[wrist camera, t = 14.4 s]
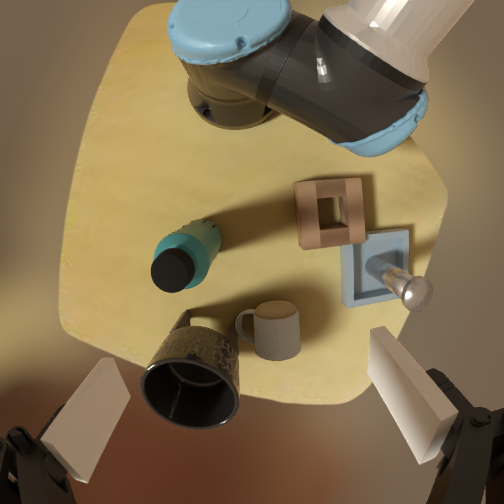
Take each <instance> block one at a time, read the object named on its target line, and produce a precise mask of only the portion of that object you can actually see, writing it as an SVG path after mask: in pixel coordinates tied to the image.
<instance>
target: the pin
mask: <svg viewBox="0 0 504 504" xmlns="http://www.w3.org/2000/svg"><path fill="white" fill-rule="evenodd" d="M365 270H366V272H367V273H368V274H369V275H370V276H372V277H373V278H375V279H376V280H377V281H379V282H380V283H381V284H383V285H384V286H385V287H387V288H388V289H389V290H390V291H392V292H393V293H394V294H396V295H397V296H398V297H400V298H401V299H402V303H403V305H404V306H405V307H406V308H407V309H408V310H409V311H411V312H419V311H421V310H422V309H424V308H425V307H426V306H427V305H428V303H429V302H430V300H431V298H432V294H433V287H432V284H431V282H430V281H429V280H428V279H426V278H424V277H422V276H416V277H414V276H412V275H410V274H409V273H407V272H405V271H403V270H402V269H400V268H398V267H396V266H395V265H393V264H391V263H389V262H387V261H386V260H384V259H382V258H380V257H378V256H371V257H370V258H368V260H367V261H366V263H365Z"/></svg>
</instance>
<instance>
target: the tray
mask: <svg viewBox="0 0 504 504" xmlns="http://www.w3.org/2000/svg"><path fill="white" fill-rule="evenodd" d="M365 241H366V243H358V244H350V245H342V246H340V251H341V278H342V302H343V304H344V305H345V306H346V307H347V308H352V307H357V306H363V305H368V304H373V303H378V302H383V301H388V300H393V299H397V298H400V297H398V296H397V295H396V294H394V293H393V292H392V291H390V290H389V289H388V288H387V287H385V286H384V285H383V284H381V283H380V282H379V281H377V280H376V279H375V278H373V277H372V276H370V275H369V274H368V273H367V272H366V270H365V263H366V261H367V260H368V258H370V257H371V256H378V257H380V258H382V259H384V260H386V261H387V262H389V263H391V264H393V265H395V266H396V267H398V268H400V269H402V270H403V271H405V272H407V273H408V270H409V230H407V229H403V228H392V229H383V230H374V231H365Z"/></svg>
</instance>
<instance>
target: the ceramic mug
mask: <svg viewBox="0 0 504 504" xmlns="http://www.w3.org/2000/svg"><path fill="white" fill-rule="evenodd" d="M244 314H254V338H253V337H250V336H248V335H247V334H246V333H245V332H244V331H243V329H242V319H243V317H242V315H244ZM235 327H236V330H237V333H238V335H239V336H240V337H241V338H242V339H244V340H245V341H247V342H249V343H252V344H255V352H256V354H257V355H258V356H259V357H261V358H263V359H266V360H271V361H282V360H287V359H290V358H293V357H295V356H296V355H297V354H298V353H299V352H300V350H301V340H300V321H299V313H298V309H297V306H296V305H295V304H293V303H292V302H289V301H284V300H275V301H268V302H265V303H262V304H260V305H259V306H258V307H257V308H256V309H248V310H245V311H243V312H241V313H240V314H239V315H238V317H237V318H236V322H235Z"/></svg>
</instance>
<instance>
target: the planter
mask: <svg viewBox="0 0 504 504" xmlns="http://www.w3.org/2000/svg"><path fill="white" fill-rule="evenodd" d="M190 318H191V314H190V313H189V312H188V310H186V311H185V312H184V313H182V315H181V316H180V318H179V319H178V321H177V322H176V324H175V325H174V327H173V328H172V330H171V331H170V334H169V335H168V336H167V337H166V339H165V340H164V341H163V343H162V344H161V346H160V347H159V349H158V351H157V352H156V354H155V355H154V357H153V358H152V360H151V361H150V363H149V364H148V366H147V368H146V369H145V371H144V372H143V374H142V377H141V382H140V389H141V393H142V396H143V398H144V400H145V402H146V404H147V405H148V406H149V407H150V408H151V410H152V411H153V412H154V413H156V414H157V415H158V416H159V417H161V418H162V419H164V420H165V421H167V422H169V423H171V424H174V425H176V426H179V427H182V428H187V429H193V430H207V429H213V428H217V427H219V426H222V425H224V424H226V423H227V422H229V421H230V420H231V419H232V418H233V417H234V416H235V415H236V413H237V411H238V408H239V405H240V391H239V360H238V355H239V350H238V333H237V330H236V327H230V330H229V332H228V334H227V335H226V336H223V335H222V334H220V333H219V332H217V331H215V330H213V329H210V328H207V327H202V326H191V325H190Z"/></svg>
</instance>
